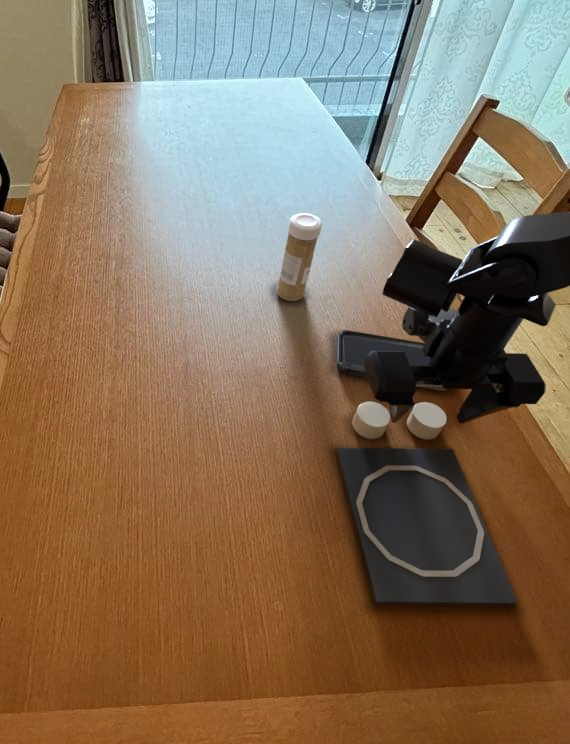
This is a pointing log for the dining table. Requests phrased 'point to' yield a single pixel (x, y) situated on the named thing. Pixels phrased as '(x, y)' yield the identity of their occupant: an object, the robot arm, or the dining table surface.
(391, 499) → the slate
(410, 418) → the white round puck
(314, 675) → the dining table surface
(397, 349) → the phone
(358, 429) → the cream round box
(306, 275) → the sprinkles bottle
